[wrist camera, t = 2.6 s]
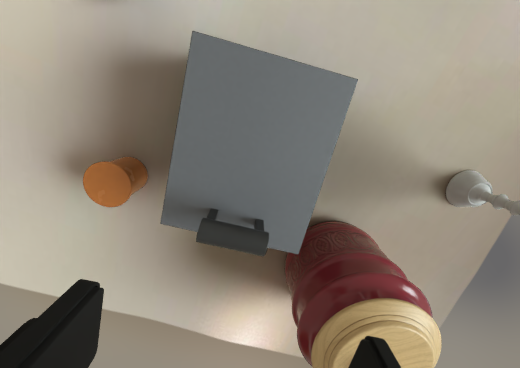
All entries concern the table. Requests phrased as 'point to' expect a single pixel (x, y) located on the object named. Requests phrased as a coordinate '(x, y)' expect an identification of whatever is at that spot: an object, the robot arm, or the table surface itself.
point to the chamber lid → (251, 146)
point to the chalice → (477, 193)
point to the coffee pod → (114, 180)
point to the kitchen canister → (356, 300)
